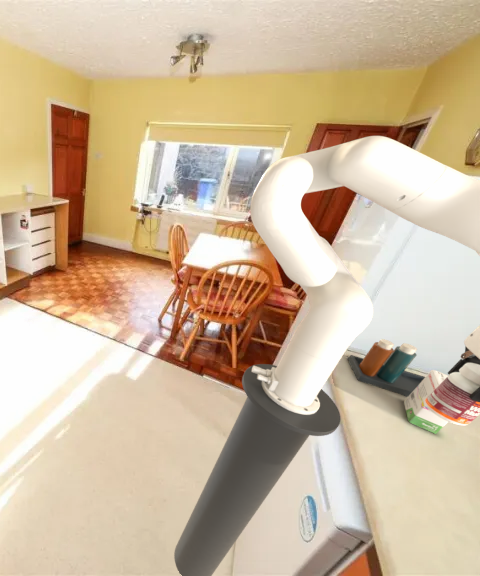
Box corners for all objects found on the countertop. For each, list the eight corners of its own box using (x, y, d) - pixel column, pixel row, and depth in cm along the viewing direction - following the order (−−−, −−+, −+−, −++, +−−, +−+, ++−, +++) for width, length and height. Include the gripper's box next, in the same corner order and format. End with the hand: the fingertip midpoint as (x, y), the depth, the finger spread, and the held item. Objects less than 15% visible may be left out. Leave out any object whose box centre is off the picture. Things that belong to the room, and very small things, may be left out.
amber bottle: (359, 373, 79) (380, 343, 74) (355, 364, 82) (375, 335, 77) (377, 378, 78) (399, 348, 73) (372, 369, 81) (393, 340, 76)
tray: (357, 380, 77) (361, 375, 76) (347, 358, 86) (350, 354, 85) (447, 409, 70) (452, 404, 69) (426, 382, 78) (430, 378, 78)
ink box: (436, 435, 63) (473, 400, 57) (407, 422, 66) (439, 387, 60) (429, 412, 69) (461, 379, 63) (402, 401, 71) (431, 368, 66)
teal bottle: (379, 379, 77) (403, 347, 72) (374, 370, 81) (397, 340, 75) (397, 384, 76) (423, 353, 71) (391, 375, 79) (416, 345, 74)
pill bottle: (459, 431, 51) (508, 389, 46) (416, 404, 56) (456, 364, 51) (472, 421, 53) (520, 380, 48) (430, 396, 58) (468, 357, 53)
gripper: (482, 284, 51) (420, 355, 60) (566, 329, 38) (470, 414, 46) (541, 296, 48) (467, 369, 57) (656, 350, 35) (536, 436, 43)
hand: (469, 388), depth 51 cm, fingers closed on pill bottle, 6 cm apart
